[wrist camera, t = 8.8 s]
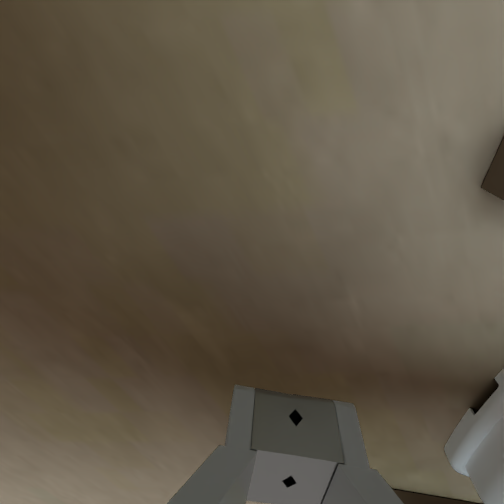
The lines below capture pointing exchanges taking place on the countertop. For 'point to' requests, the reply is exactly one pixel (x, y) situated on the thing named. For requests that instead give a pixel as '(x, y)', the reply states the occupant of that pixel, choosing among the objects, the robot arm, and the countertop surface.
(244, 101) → the countertop surface
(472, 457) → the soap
